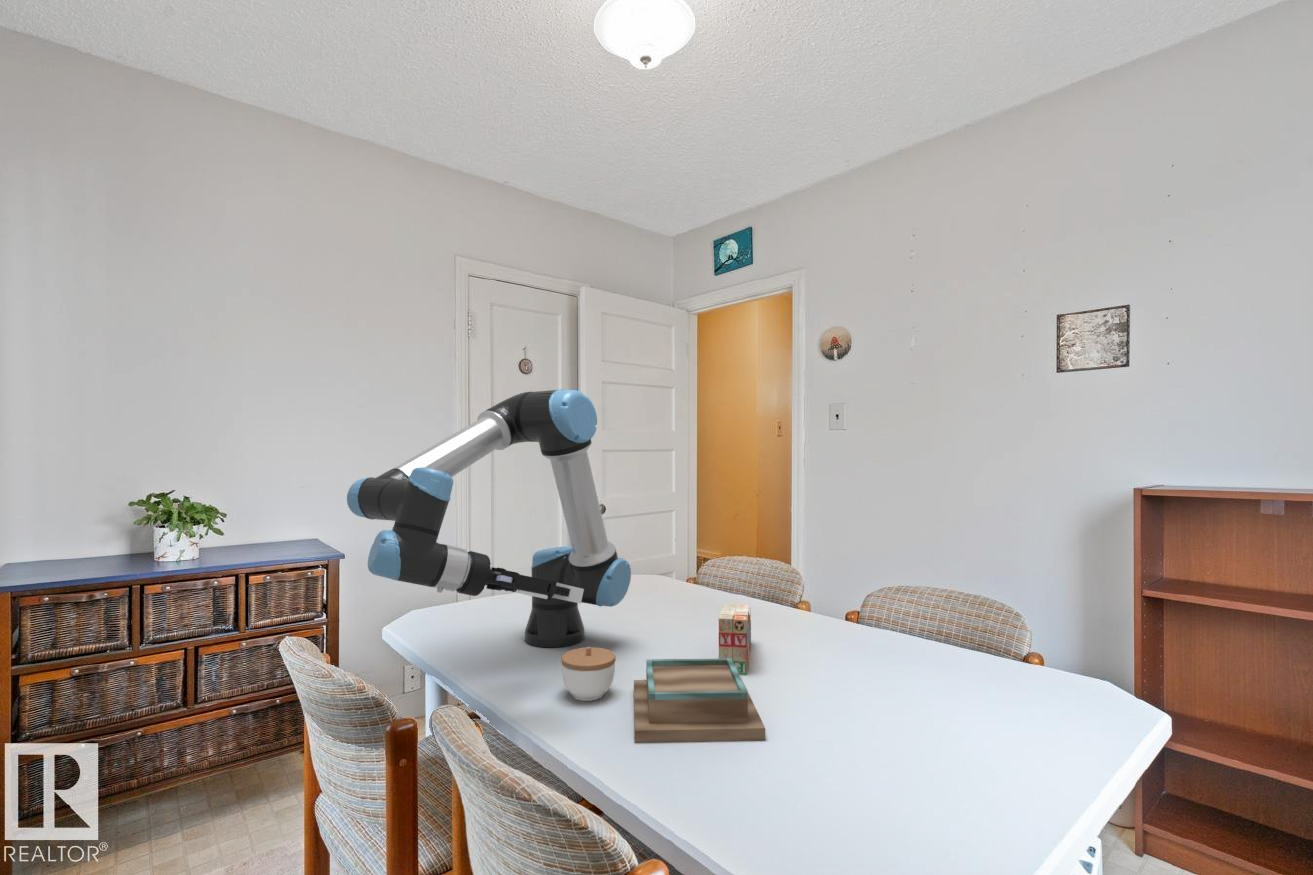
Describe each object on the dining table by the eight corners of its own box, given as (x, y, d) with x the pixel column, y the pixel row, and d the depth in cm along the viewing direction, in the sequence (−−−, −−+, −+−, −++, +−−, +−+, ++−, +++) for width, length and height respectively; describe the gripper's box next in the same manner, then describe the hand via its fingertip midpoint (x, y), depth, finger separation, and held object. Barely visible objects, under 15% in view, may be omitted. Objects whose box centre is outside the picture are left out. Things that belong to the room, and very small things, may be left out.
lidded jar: (608, 681, 129) (608, 636, 129) (621, 702, 119) (621, 653, 119) (557, 688, 125) (557, 641, 125) (566, 709, 115) (566, 659, 115)
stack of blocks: (726, 642, 155) (726, 593, 155) (751, 644, 153) (751, 595, 154) (718, 673, 134) (718, 617, 134) (747, 675, 132) (747, 618, 133)
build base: (633, 689, 124) (633, 655, 124) (741, 688, 125) (741, 653, 125) (634, 742, 102) (634, 700, 102) (765, 740, 103) (765, 698, 103)
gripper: (433, 589, 118) (531, 608, 129) (482, 596, 99) (592, 619, 110) (445, 550, 121) (540, 573, 132) (494, 550, 101) (601, 577, 112)
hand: (564, 594), depth 121 cm, fingers open, 13 cm apart
